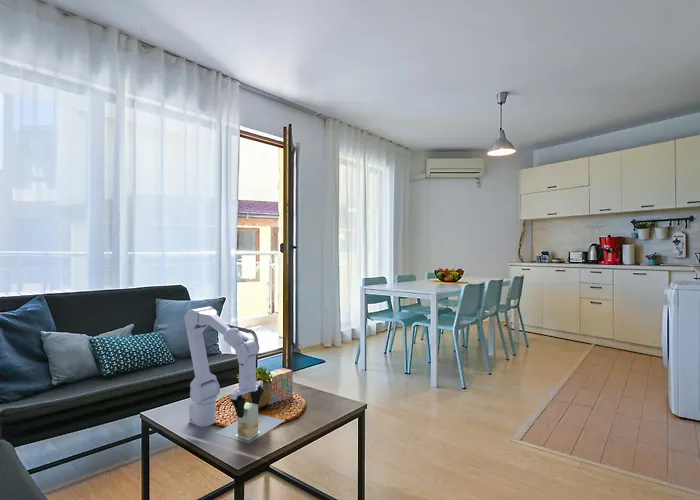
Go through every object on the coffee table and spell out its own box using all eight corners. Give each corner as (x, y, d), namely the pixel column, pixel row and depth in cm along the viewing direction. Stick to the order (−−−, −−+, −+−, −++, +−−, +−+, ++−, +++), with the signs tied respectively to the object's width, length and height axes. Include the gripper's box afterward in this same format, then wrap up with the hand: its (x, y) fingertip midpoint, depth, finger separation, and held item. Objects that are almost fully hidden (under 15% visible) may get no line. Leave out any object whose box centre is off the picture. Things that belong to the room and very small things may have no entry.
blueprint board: (214, 435, 142) (214, 432, 142) (252, 414, 160) (252, 412, 160) (249, 445, 135) (249, 443, 135) (285, 422, 152) (285, 420, 152)
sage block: (237, 421, 140) (237, 406, 140) (247, 415, 145) (247, 401, 145) (248, 423, 138) (248, 409, 138) (258, 418, 142) (258, 404, 142)
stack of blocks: (254, 413, 161) (253, 382, 161) (244, 409, 165) (244, 379, 165) (292, 397, 178) (292, 369, 178) (283, 394, 182) (283, 367, 182)
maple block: (237, 435, 140) (237, 421, 140) (247, 429, 145) (247, 415, 145) (248, 438, 138) (248, 424, 138) (258, 432, 142) (258, 418, 142)
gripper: (241, 382, 133) (241, 423, 133) (269, 370, 146) (269, 407, 146) (226, 379, 136) (226, 419, 136) (254, 367, 149) (254, 404, 149)
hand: (247, 412), depth 141 cm, fingers open, 7 cm apart
